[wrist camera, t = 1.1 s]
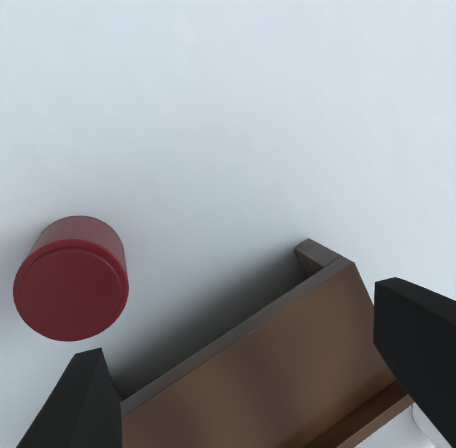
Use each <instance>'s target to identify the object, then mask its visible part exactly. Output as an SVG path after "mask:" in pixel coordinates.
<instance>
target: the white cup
mask: <svg viewBox="0 0 456 448" xmlns="http://www.w3.org/2000/svg"><path fill="white" fill-rule="evenodd" d="M412 416H413V418H414V421H415V424H416V425H417V426H418V428H419V429H420V430H421V431H422V432H423V433H424V434H425V436H426V437H427V438H428V439H429V440H430V441H431V442H432V444H433V445H434V446H435V447H436V448H452V447H451V446H450V445H449V443H448V442H447V441H446V440H445V438H444V437H443V436H442V435H441V434H440V432H439V431H438V430H437V429H436V427H435V426H434V425H433V424H432V423H431V421H430V420H429V419H428V418H427V416H426V415H425V414H424V413H423V412H422V410H421V409H420V408H419V407H418V405H417V404H416V403H415V402H414V403H413V409H412Z"/></svg>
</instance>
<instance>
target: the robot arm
mask: <svg viewBox="0 0 456 448" xmlns="http://www.w3.org/2000/svg"><path fill="white" fill-rule="evenodd" d="M373 343H374V345H375V347H376V348H377V350H378V352H379V353H380V355H381V357H382V358H383V360H384V362H385V363H386V365H387V366H388V368H389V369H390V371H391V372H392V374H393V375H394V377H395V378H396V379H397V381H398V382H399V383H400V384H401V386H402V387H403V388H404V389H405V391H406V392H407V393H408V394H409V396H410V397H411V398H412V399H413V401H414V402H415V403H416V404H417V405H418V407H419V408H420V409H421V410H422V412H423V413H424V414H425V415H426V416H427V418H428V419H429V420H430V421H431V423H432V424H433V425H434V426H435V427H436V429H437V430H438V431H439V432H440V434H441V435H442V436H443V437H444V438H445V440H446V441H447V442H448V443H449V445H450V446H451V447H452V448H456V301H455V300H452V299H450V298H447V297H445V296H443V295H440V294H438V293H435V292H433V291H431V290H428V289H426V288H423V287H421V286H418V285H416V284H413V283H411V282H408V281H406V280H403V279H400V278H397V277H394V278H390V279H386V280H381V281H377V282H375V293H374V326H373ZM16 448H123V447H122V419H121V407H120V404H119V401H118V398H117V395H116V392H115V389H114V386H113V382H112V379H111V376H110V373H109V370H108V367H107V364H106V361H105V358H104V355H103V352H102V349H101V348H98V349H93V350H89V351H85V352H81V353H77V354H75V355H74V357H73V358H72V359H71V361H70V363H69V364H68V366H67V368H66V369H65V371H64V373H63V374H62V376H61V378H60V379H59V381H58V383H57V385H56V386H55V388H54V389H53V391H52V393H51V394H50V396H49V398H48V399H47V401H46V403H45V404H44V406H43V407H42V409H41V410H40V412H39V414H38V415H37V417H36V418H35V420H34V421H33V423H32V424H31V426H30V428H29V429H28V431H27V432H26V434H25V435H24V437H23V438H22V440H21V441H20V443H19V444H18V445H17V447H16Z"/></svg>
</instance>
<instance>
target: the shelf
mask: <svg viewBox="0 0 456 448" xmlns="http://www.w3.org/2000/svg"><path fill="white" fill-rule="evenodd" d="M294 250H295V252H296V254H297V256H298V257H299V259H300V261H301V263H302V265H303V267H304V269H305V271H306V273H307V275H308V277H309V278H308V279H306V280H305V281H303V282H302V283H300V284H299V285H297V286H296V287H294V288H293V289H291V290H290V291H288V292H287V293H285V294H284V295H282V296H281V297H279V298H278V299H276V300H275V301H273V302H272V303H270V304H269V305H267V306H266V307H264V308H263V309H261V310H260V311H258V312H257V313H255V314H254V315H252V316H251V317H249V318H248V319H246V320H245V321H243V322H242V323H240V324H239V325H237V326H235V327H234V328H232V329H231V330H229V331H228V332H226V333H225V334H223V335H222V336H220V337H219V338H217V339H216V340H214V341H213V342H211V343H210V344H208V345H207V346H205V347H204V348H202V349H201V350H199V351H198V352H196V353H195V354H193V355H192V356H190V357H189V358H187V359H186V360H184V361H183V362H181V363H180V364H178V365H177V366H175V367H174V368H172V369H171V370H169V371H168V372H166V373H165V374H163V375H162V376H160V377H159V378H157V379H155V380H154V381H152V382H151V383H149V384H148V385H146V386H145V387H143V388H142V389H140V390H139V391H137V392H136V393H134V394H133V395H131V396H130V397H128V398H127V399H125V400H124V399H123V398H122V397H121V395H120V394H119V393H118V392H117V390H116V389H115V388H114V389H115V392H116V395H117V398H118V401H119V404H120V407H121V419H122V447H123V448H354V447H355V446H357V445H358V444H359V443H361V442H362V441H363V440H365V439H366V438H367V437H369V436H370V435H371V434H373V433H374V432H375V431H377V430H378V429H379V428H381V427H382V426H383V425H385V424H386V423H387V422H389V421H390V420H391V419H393V418H394V417H396V416H397V415H398V414H400V413H401V412H402V411H404V410H405V409H406V408H408V407H409V406H410V405H412V404H413V403H414V401H413V399H412V398H411V397H410V396H409V394H408V393H407V392H406V391H405V389H404V388H403V387H402V386H401V384H400V383H399V382H398V381H397V379H396V378H395V377H394V375H393V374H392V372H391V371H390V369H389V368H388V366H387V365H386V363H385V362H384V360H383V358H382V357H381V355H380V353H379V352H378V350H377V348H376V347H375V345H374V343H373V326H374V305H373V303H372V301H371V299H370V297H369V294H368V292H367V290H366V288H365V285H364V283H363V281H362V279H361V276H360V274H359V272H358V270H357V268H356V265H355V263H354V262H352V261H350V260H349V259H347V258H345V257H343V256H341V255H339V254H338V253H336V252H334V251H332V250H330V249H328V248H326V247H324V246H322V245H321V244H319V243H317V242H315V241H313V240H311V239H307V240H306V241H304V242H303V243H301V244H300V245H298V246H297V247H295V248H294Z"/></svg>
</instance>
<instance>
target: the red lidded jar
mask: <svg viewBox="0 0 456 448" xmlns="http://www.w3.org/2000/svg"><path fill="white" fill-rule="evenodd" d="M128 291H129V285H128V276H127V269H126V262H125V255H124V249H123V245H122V243H121V240H120V238H119V237H118V235H117V234H116V232H115V231H114V230H113V229H112V228H111V227H110V226H108V225H107V224H106V223H104V222H102V221H100V220H98V219H96V218H92V217H87V216H71V217H66V218H63V219H60V220H58V221H56V222H54V223H53V224H51V225H50V226H48V227H47V228H46V229H45V230H44V231H43V232H42V234H41V235H40V236H39V238H38V240H37V241H36V243H35V244H34V246H33V247H32V249H31V251H30V252H29V254H28V255H27V257H26V258H25V260H24V261H23V263H22V265H21V266H20V268H19V270H18V272H17V274H16V277H15V280H14V285H13V298H14V303H15V306H16V309H17V311H18V313H19V315H20V316H21V318H22V319H23V320H24V322H25V323H26V324H27V325H28V326H29V327H31V328H32V329H33V330H34V331H36V332H38V333H39V334H41V335H43V336H45V337H47V338H50V339H53V340H58V341H78V340H83V339H86V338H89V337H92V336H95V335H97V334H99V333H101V332H102V331H104V330H105V329H107V328H108V327H109V326H111V325H112V324H113V323H114V322H115V321H116V319H117V318H118V317H119V316H120V314H121V313H122V311H123V309H124V307H125V305H126V302H127V298H128Z"/></svg>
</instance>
